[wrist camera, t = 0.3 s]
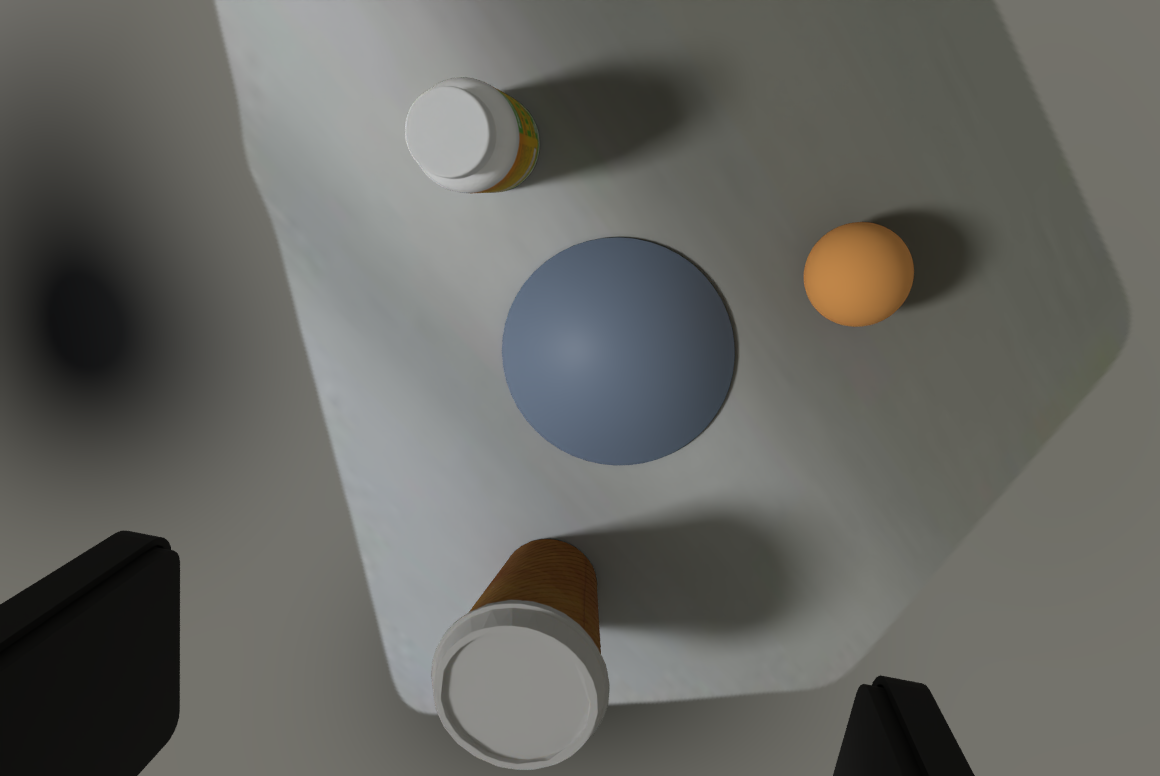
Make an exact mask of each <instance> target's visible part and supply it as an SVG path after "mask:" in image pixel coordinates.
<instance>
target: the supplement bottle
mask: <svg viewBox="0 0 1160 776" xmlns="http://www.w3.org/2000/svg"><path fill="white" fill-rule="evenodd" d="M405 137H406V142H407V146H408V149H409V151H410V153H411V155H412V156H413V158H414V159H415V161H416V162H417V163H418V164H419V166H420V167H421V169H422V170H423V171H424V173H425V174H426V175H427V176H428V177H429V178H430V179H431V180H432V181H434V182H435V183H437V184H438V185H440V186H442V187H444V188H446V189H448V190H451V191H455V192H460V193H494V192H503V191H507V190H510V189H512V188H514V187H516V186H518V185H519V184H521V183H522V182H523V181H524V180H525V179H526V178H527V177H528V176H529V175H530V173H531V172H532V170H533V168H534V166H535V164H536V162H537V159H538V154H539V148H540V141H539V133H538V129H537V126H536V124H535V122H534V119H533V118H532V116H531V115H530V113H529V112H528V111H527V109H526V108H525V107H524V106H523V105H522V104H520V103H519V102H518V101H516V100H515V99H513V98H512V97H510V96H508V95H507V94H505V93H503V92H501V91H500V90H498V89H496V88H494V87H493V86H491V85H489V84H487V83H485V82H483V81H480V80H477V79H473V78H467V77H459V78H451V79H447V80H445V81H442V82H440V83H438V84H436V85H435V86H433V87H432V88H431V89H429V90H427V91H426V92H424V93H423V94H421V95H420V96H419V97H418V98H417V99H416V100H415V101H414V103H413V104H412V106H411V108H410V110H409V112H408V115H407V118H406V123H405Z"/></svg>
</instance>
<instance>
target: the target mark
mask: <svg viewBox="0 0 1160 776" xmlns="http://www.w3.org/2000/svg"><path fill="white" fill-rule="evenodd" d="M502 357H503V367H504V372H505V376H506V381H507V384H508V387H509V389H510V392H511V395H512V397H513V399H514V401H515V403H516V405H517V407H518V408H519V410H520V411H521V413H522V414H523V416H524V417H525V419H526V420H527V421H528V422H529V424H530V425H531V426H532V427H533V428H534V429H535V430H536V431H537V432H538V433H539V434H540V435H541V436H542V437H544V438H545V439H546V440H547V441H548V442H550V443H551V444H553V445H554V446H556V447H557V448H559V449H561V450H563V451H565V452H566V453H568V454H570V455H572V456H575V457H578V458H581V459H583V460H586V461H591V462H595V463H599V464H608V465H633V464H640V463H645V462H649V461H653V460H656V459H659V458H662V457H664V456H666V455H669V454H671V453H673V452H675V451H677V450H678V449H680V448H682V447H684V446H685V445H686V444H688V443H689V442H690V441H692V440H693V439H694V438H696V437H697V436H698V435H699V434H700V433H701V432H702V431H703V430H704V429H705V428H706V427H707V426H708V424H709V423H710V422H711V420H712V419H713V418H714V417H715V415H716V414H717V412H718V410H719V409H720V407H721V405H722V403H723V401H724V399H725V397H726V394H727V392H728V390H729V386H730V382H731V379H732V375H733V368H734V360H735V348H734V338H733V331H732V326H731V323H730V320H729V316H728V313H727V311H726V309H725V306H724V304H723V302H722V300H721V298H720V296H719V295H718V293H717V292H716V290H715V288H714V287H713V285H712V284H711V283H710V282H709V281H708V279H707V278H706V277H705V276H704V274H702V273H701V272H700V271H699V270H698V269H697V268H696V267H695V266H694V265H693V264H692V263H690V262H689V261H687V260H686V259H685V258H683V257H682V256H680V255H679V254H677V253H675V252H673V251H671V250H669V249H667V248H665V247H663V246H660V245H657V244H654V243H652V242H648V241H644V240H639V239H634V238H621V237H615V238H601V239H596V240H591V241H586V242H583V243H580V244H577V245H574V246H572V247H570V248H568V249H566V250H564V251H562V252H560V253H558V254H556V255H555V256H553V257H552V258H551V259H549V260H548V261H546V262H545V263H544V264H543V265H541V266H540V267H539V268H538V269H537V270H536V271H535V272H534V273H533V274H532V275H531V276H530V277H529V279H528V280H527V281H526V282H525V283H524V285H523V286H522V288H521V289H520V291H519V292H518V294H517V295H516V297H515V300H514V302H513V304H512V306H511V308H510V310H509V314H508V317H507V320H506V323H505V328H504V334H503V345H502Z"/></svg>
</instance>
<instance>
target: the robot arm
mask: <svg viewBox="0 0 1160 776" xmlns="http://www.w3.org/2000/svg"><path fill="white" fill-rule="evenodd" d="M179 674H180V560H179V556H178V554H177V552H175V551H173V550H171V546H170V544H169V542H168V541H167V540H166V539H165V538H162V537H157V536H152V535H146V534H141V533H136V532H131V531H120V532H117V533H115V534H113V535H112V536H110V537H108V538H107V539H105V540H104V541H102V542H101V543H99V544H97V545H96V546H94V547H92V548H91V549H89V550H88V551H86V552H84V553H83V554H81V555H79V556H78V557H76V558H75V559H73V560H72V561H70V562H68V563H67V564H65V565H64V566H62V567H60V568H59V569H57V570H56V571H54V572H52V573H51V574H49V575H47V576H46V577H44V578H42V579H41V580H39V581H38V582H36V583H34V584H33V585H31V586H30V587H28V588H26V589H25V590H23V591H21V592H20V593H18V594H17V595H15V596H14V597H12V598H10V599H9V600H7V601H5V602H4V603H2V604H0V776H137V775H138V774H139V773H140V772H141V771H142V770H143V769H144V768H145V766H147V764H148V763H149V762H150V761H151V760H152V759H153V758H154V757H155V756H156V755H157V753H158V752H159V751H160V750H161V749H162V748H163V747H164V746H165V745H166V743H167V742H168V741H169V739H170V738H171V736H172V734H173V733H174V731H175V728H176V726H177V722H178V719H179V711H180V710H179V709H180V692H179V691H180V675H179ZM833 776H975V775H974V774H973V772H972V770H971V768H970V766H969V764H968V762H967V760H966V759H965V756H964V755H963V753H962V751H961V749H960V747H959V745H958V743H957V741H956V739H955V738H954V736H953V734H952V732H951V730H950V728H949V726H948V724H947V722H946V720H945V719H944V716H943V715H942V713H941V711H940V709H939V707H938V705H937V703H936V701H935V699H934V697H933V695H932V694H931V692H930V690H929V689H928V687H927V686H926V685H924V684H922V683H916V682H912V681H906V680H901V679H896V678H891V677H885V676H878V677H877V678H876V679H875V680H874V681H873V684H872V685H866V684H862V685H860V687H859V688H858V691H857V693H856V697H855V700H854V704H853V707H852V711H851V714H850V718H849V721H848V725H847V728H846V732H845V735H844V739H843V742H842V746H841V750H840V753H839V756H838V760H837V763H836V767H835V770H834V774H833Z"/></svg>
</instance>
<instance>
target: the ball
mask: <svg viewBox="0 0 1160 776" xmlns="http://www.w3.org/2000/svg"><path fill="white" fill-rule="evenodd" d="M913 278H914V264H913V260H912V256H911V254H910V251H909V249H908V248H907V246H906V244H905V243H904V242H903V240H902V239H901V238H900V237H899V236H898V235H897V234H895V233H894V232H893V231H891V230H890V229H888V228H886V227H884V226H881V225H878V224H874V223H869V222H855V223H849V224H845V225H842V226H839V227H837V228H835V229H833V230H831V231H830V232H828V233H827V234H826V235H824V236H823V237H822V238H821V239H820V240H819V241H818V242H817V243H816V244H815V246H814V247H813V249H812V250H811V252H810V254H809V256H808V258H807V261H806V265H805V269H804V285H805V290H806V293H807V295H808V298H809V300H810V301H811V303H812V305H813V306H814V307H815V308H816V310H817V311H818V312H819V313H820V314H821V315H823V316H824V317H826V318H827V319H829V320H831V321H833V322H835V323H838V324H841V325H845V326H853V327H857V326H867V325H871V324H875V323H878V322H880V321H882V320H884V319H886V318H888V317H889V316H890V315H892V314H893V313H894V312H895V311H897V310H898V309H899V308H900V306H901V305H902V304H903V303H904V301H905V300H906V298H907V296H908V294H909V292H910V290H911V287H912V284H913Z"/></svg>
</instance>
